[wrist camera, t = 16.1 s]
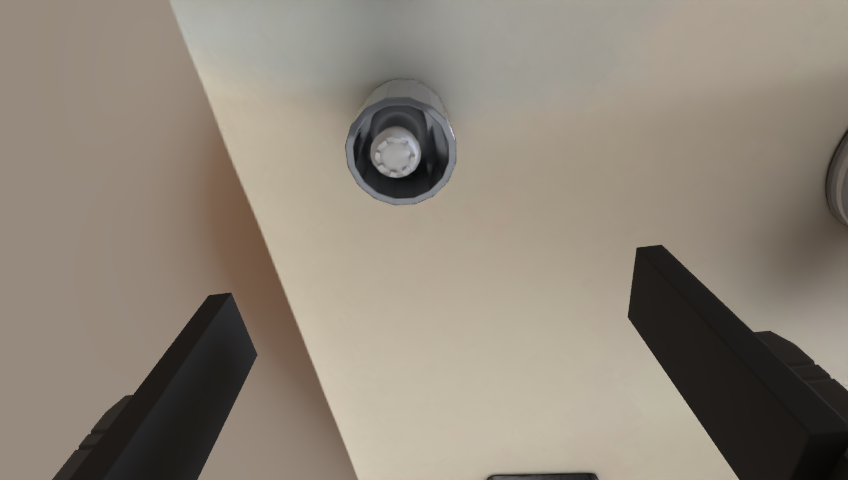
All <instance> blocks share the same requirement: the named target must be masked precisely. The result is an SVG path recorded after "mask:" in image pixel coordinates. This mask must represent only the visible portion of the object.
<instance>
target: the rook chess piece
mask: <svg viewBox="0 0 848 480" xmlns="http://www.w3.org/2000/svg"><path fill="white" fill-rule="evenodd" d="M370 134H371V137H372V140H373V143H372V145H371V153H370V156H371V159H372V162H373V165H374V166H375V167H376V168H377V169H378V170H379V172H381V173H383V174H384V175H386V176H388V177H396V178H399V177H403V176H407V175H409V174H410V173H411V172H413V171H414V170H415V169H416V167H417V166H418V164H419V162H420V157H421V147H422V146H423V144H424V142H425V140H426V134H427V123H426V119H425V116H424V114H423V113H422V112H421V110H419V109H417V108H414V107H411V106H408V105H404V106H388V107H386V108H384V109H381V110H379V111H377V112H375V113H374V115H373V117H372V119H371V130H370Z"/></svg>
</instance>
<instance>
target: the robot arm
mask: <svg viewBox="0 0 848 480" xmlns="http://www.w3.org/2000/svg"><path fill="white" fill-rule="evenodd" d="M827 199H828V203H829V206H830V209H831V210H832V212H833V214H834V215H835V216H836V218H837V219H838V220H839V221H841V222H842V223H843V224H845V225H846V226H848V134H847V135H846V137H845V138H844V139H843V141H842V143H841V145H840V146H839V148H838V150H837V152H836V154H835V156H834V158H833V161H832V164H831V166H830V170H829V173H828V179H827ZM628 318H629V320H630V321H631V322H632V324H633V325H634V327H635V328H636V330H637V331H638V333H639V334H640V336H641V337H642V339H643V340H644V341H645V343H646V344H647V346H648V347H649V349H650V350H651V352H652V353H653V355H654V356H655V357H656V359H657V360H658V362H659V363H660V365H661V366H662V368H663V369H664V371H665V372H666V373H667V375H668V376H669V378H670V379H671V381H672V382H673V384H674V385H675V387H676V388H677V390H678V391H679V392H680V394H681V395H682V397H683V398H684V400H685V401H686V403H687V404H688V406H689V407H690V408H691V410H692V411H693V413H694V414H695V416H696V417H697V419H698V420H699V422H700V423H701V424H702V426H703V427H704V429H705V430H706V432H707V433H708V435H709V436H710V438H711V439H712V441H713V442H714V443H715V445H716V446H717V448H718V449H719V451H720V452H721V454H722V455H723V457H724V458H725V459H726V461H727V462H728V464H729V465H730V467H731V468H732V470H733V471H734V473H735V474H736V475H737V477H738V478H739V480H848V391H847V390H846V389H845V388H844V387H843V386H842V385H841V384H840V383H838V382H837V381H836V380H835V379H831V378H830V375H829V374H828V373H827V372H826V371H825V370H824V369H822V368H821V367H820V366H819V365H815V364H814V361H813V360H812V359H811V358H810V357H809V356H808V355H807V354H805V353H804V352H803V351H802V350H801V349H800V348H799V347H797V346H796V345H795V344H793V343H792V342H790V341H788V340H786V339H784V338H782V337H780V336H779V335H777V334H775V333H773V332H771V331H763V332H753V331H752V330H751V329H750V328H749V327H748V326H746V325H745V324H744V323H743V322H742V321H741V320H740V319H739V318H738V317H737V316H736V315H735V314H734V313H733V312H732V311H731V310H730V309H729V308H728V307H727V306H725V305H724V304H723V303H722V302H721V301H720V300H719V299H718V298H717V297H716V296H715V295H714V294H713V293H712V292H711V291H710V290H709V289H708V288H707V287H706V286H704V285H703V284H702V283H701V282H700V281H699V280H698V279H697V278H696V277H695V276H694V275H693V274H692V273H691V272H690V271H689V270H688V269H687V268H686V267H684V266H683V265H682V264H681V263H680V262H679V261H678V260H677V259H676V258H675V257H674V256H673V255H672V254H671V253H670V252H669V251H668V250H667V249H666V248H665V247H663V246H662V245H656V246H647V247H638V248H637V249H636V257H635V265H634V273H633V280H632V288H631V296H630V304H629V311H628ZM256 357H257V353H256V350H255V348H254V346H253V343H252V341H251V339H250V336H249V334H248V332H247V329H246V327H245V324H244V322H243V320H242V317H241V315H240V312H239V310H238V308H237V305H236V303H235V301H234V298H233V296H232V294H231V293H225V294H216V295H209V296H208V297H207V299H206V300H205V301H204V303H203V304H202V305H201V306H200V308H199V309H198V310H197V312H196V313H195V314H194V316H193V317H192V318H191V319H190V321H189V322H188V323H187V325H186V326H185V327H184V329H183V330H182V331H181V333H180V334H179V335H178V337H177V338H176V339H175V341H174V342H173V343H172V345H171V346H170V347H169V348H168V350H167V351H166V352H165V354H164V355H163V357H162V358H161V359H160V360H159V362H158V363H157V364H156V366H155V367H154V368H153V370H152V371H151V372H150V374H149V375H148V376H147V378H146V379H145V380H144V381H143V383H142V384H141V385H140V387H139V388H138V389H137V391H136V392H135V393H134V395H128V396H125V397H123V398H122V399H121V400H120V401H119V402H117V403H116V404H115V405H114V406H113V407H112V408H110V409H109V410H108V411H107V412H106V413H105V414H104V415H103V416H102V418H101V419H100V420H99V422H98V423H97V424H96V425H95V426H94V428H93V429H92V430H91V434H89V435H87V436H86V438H85V439H84V440H83V441H82V443H81V444H80V445H79V449H78V450H75V451H74V453H73V454H72V455H71V457H70V458H69V459H68V460H67V462H66V463H65V464H64V465H63V467H62V468H61V469H60V471H59V472H58V473H57V474H56V475H55V477H54V478H53V479H52V480H197V479H198V477H199V475H200V473H201V471H202V469H203V466H204V465H205V463H206V461H207V459H208V456H209V454H210V452H211V450H212V448H213V446H214V444H215V442H216V440H217V438H218V436H219V433H220V432H221V430H222V427H223V425H224V423H225V421H226V419H227V417H228V415H229V413H230V411H231V409H232V406H233V405H234V402H235V400H236V398H237V396H238V394H239V392H240V390H241V388H242V386H243V384H244V382H245V380H246V378H247V376H248V374H249V371H250V369H251V367H252V365H253V363H254V361H255V359H256Z"/></svg>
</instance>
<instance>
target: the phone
mask: <svg viewBox="0 0 848 480" xmlns="http://www.w3.org/2000/svg"><path fill="white" fill-rule="evenodd" d="M488 480H598V478H597V476H596V475H593V474H574V475H528V476H494V477H491V478H489V479H488Z"/></svg>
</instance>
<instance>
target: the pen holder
mask: <svg viewBox="0 0 848 480" xmlns="http://www.w3.org/2000/svg"><path fill="white" fill-rule="evenodd" d="M404 105H408V106H411V107H414V108H417V109H419V110H421V112H422V113H423V114H424V116H425V119H426V123H427V134H426V140H425V142H424V144H423V146H422V147H421V157H420V162H419V164H418V166H417V167H416V169H415V170H414V171H413V172H411V173H410V174H409V175H407V176H403V177H399V178H396V177H388V176H386V175H384V174H383V173H381V172H379V170H378V169H377V168H376V167H375V166H374V165H373V162H372V159H371V156H370V153H371V145H372V143H373V140H372V137H371V134H370V130H371V119H372V117H373V115H374V113H375V112H377V111H379V110H381V109H384V108H386V107H388V106H404ZM345 149H346V157H347V164H348V168H349V170H350V172H351V174H352V175H353V177H354V179H355V181H356V182H357V184H358V185H359V186H360V187H361V188H362V189H363V190H365V191H366V192H367V193H368V194H370V195H371V196H372V197H373V198H375V199H377V200H380V201H383V202H386V203H389V204H393V205H409V204H417V203H419V202H421V201H423V200H426V199H428V198H430V197H433V196H434V195H435V194H436V193H437V192H438V191H439V190H440V189H441V188H442V187H443V186H444V185H445V184H446V183H447V182H448V181H449V178H450V176H451V174H452V171H453V169H454V166H455V164H456V139H455V136H454V133H453V130H452V127H451V124H450V121H449V118H448V115H447V113H446V110H445V108H444V105H443V103H442V101H441V100H440V98H439V97H438V96H437V94H436V93H435V92H434V91H433V90H432V89H430V88H429V87H428V86H426V85H425V84H423V83H420V82H418V81H415V80H410V79H395V80H391V81H388V82H386V83H383V84H382V85H380V86H378V87H377V88H376V89H374V91H373V92H372V93H371V94H370V95H369V96H368V98H367V99H366V100H365V101H364V103H363V105H362V107H361V108H360V110H359V112H358V114H357V116H356V117H355V119H354V121H353V123H352V125H351V127H350V130H349V134H348V137H347V141H346V144H345Z"/></svg>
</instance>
